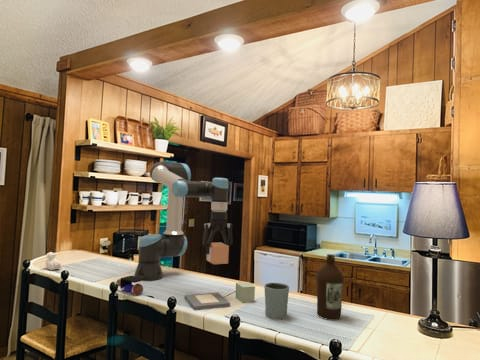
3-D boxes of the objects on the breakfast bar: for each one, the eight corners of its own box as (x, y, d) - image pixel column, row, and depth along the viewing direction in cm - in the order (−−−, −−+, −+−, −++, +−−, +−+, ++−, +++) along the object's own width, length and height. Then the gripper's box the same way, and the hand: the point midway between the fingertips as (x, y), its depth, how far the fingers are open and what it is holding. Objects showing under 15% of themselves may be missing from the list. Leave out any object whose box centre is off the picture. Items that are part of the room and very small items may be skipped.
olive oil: (311, 311, 145) (313, 252, 146) (334, 310, 148) (336, 252, 148) (322, 321, 135) (325, 257, 136) (347, 320, 137) (349, 257, 138)
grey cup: (271, 321, 132) (273, 290, 133) (258, 312, 141) (259, 283, 142) (293, 318, 137) (294, 287, 137) (279, 309, 146) (280, 281, 146)
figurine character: (115, 293, 164) (134, 296, 154) (115, 277, 164) (134, 279, 155) (127, 290, 169) (146, 293, 160) (127, 274, 170) (146, 276, 161)
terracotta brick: (206, 259, 162) (206, 242, 162) (220, 259, 165) (220, 242, 165) (213, 264, 153) (214, 246, 153) (228, 263, 156) (228, 245, 156)
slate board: (184, 298, 156) (184, 294, 156) (217, 295, 162) (217, 291, 162) (193, 310, 141) (194, 306, 141) (230, 306, 148) (230, 302, 148)
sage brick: (235, 297, 160) (235, 282, 161) (246, 296, 163) (247, 281, 163) (242, 303, 153) (242, 287, 153) (254, 301, 155) (254, 286, 156)
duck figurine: (45, 271, 201) (34, 258, 196) (56, 262, 207) (45, 248, 201) (58, 275, 195) (47, 261, 190) (68, 265, 201) (57, 251, 195)
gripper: (201, 211, 152) (198, 263, 151) (241, 211, 160) (239, 261, 159) (196, 210, 159) (193, 260, 158) (235, 210, 167) (233, 258, 166)
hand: (217, 260), depth 159 cm, fingers closed on terracotta brick, 7 cm apart
